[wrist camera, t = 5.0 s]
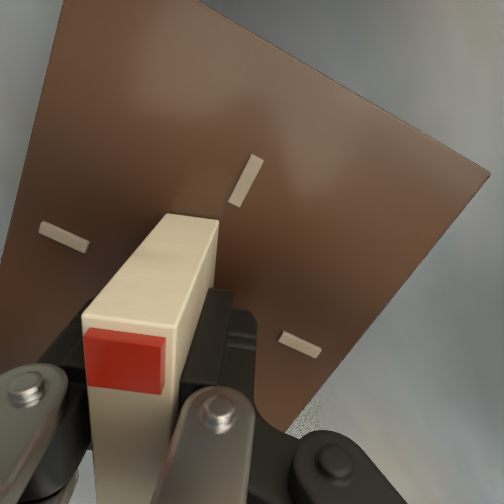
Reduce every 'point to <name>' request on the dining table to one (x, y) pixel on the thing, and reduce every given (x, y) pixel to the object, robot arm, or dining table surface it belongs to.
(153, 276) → the cream slab
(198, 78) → the panel
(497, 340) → the dining table surface
